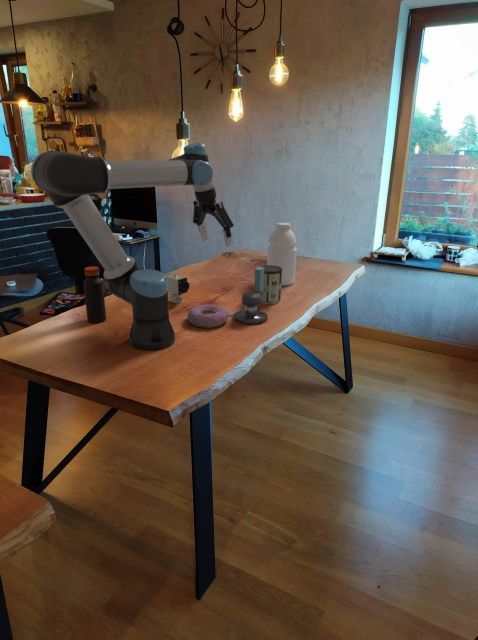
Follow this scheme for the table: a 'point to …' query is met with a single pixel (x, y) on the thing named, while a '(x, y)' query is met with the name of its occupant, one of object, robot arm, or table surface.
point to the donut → (207, 316)
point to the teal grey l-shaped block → (255, 289)
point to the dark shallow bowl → (249, 316)
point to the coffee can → (271, 284)
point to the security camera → (177, 287)
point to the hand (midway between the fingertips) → (217, 242)
